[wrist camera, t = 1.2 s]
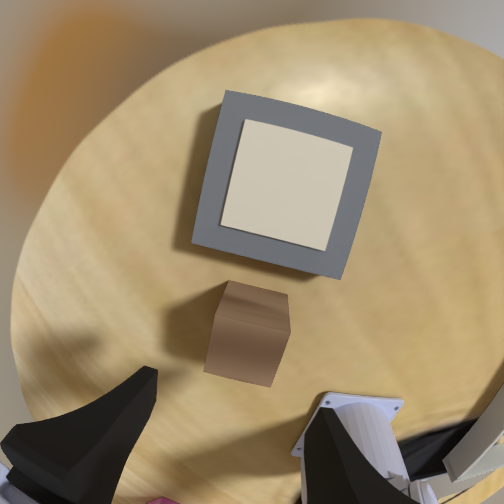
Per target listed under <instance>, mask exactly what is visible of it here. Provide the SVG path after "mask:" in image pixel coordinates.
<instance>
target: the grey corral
mask: <svg viewBox="0 0 504 504" xmlns="http://www.w3.org/2000/svg"><path fill="white" fill-rule="evenodd" d="M503 434H504V384H503V385H502V387H501V388H500V390H499V391H498V393H497V394H496V396H495V397H494V399H493V400H492V401H491V403H490V404H489V406H488V407H487V408H486V410H485V411H484V412H483V414H482V415H481V416H480V418H479V419H478V420H477V421H476V423H475V424H474V425H473V426H472V428H471V429H470V430H469V431H468V432H467V434H466V435H465V436H464V437H463V438H462V439H461V441H460V442H459V443H458V444H457V445H456V446H455V447H454V448H453V449H452V451H451V452H450V453H449V454H448V455H447V456H446V457H445V458H444V459H443V460H442V461H443V463H444V465H445V468H446V470H447V472H448V475H449V477H450V479H451V482H452V483H454V482H458V481H462V480H465V479H469V478H472V477H475V476H478V475H481V474H484V473H487V472H490V471H493V470H496V469H498V468H501V467H504V443H501V444H497V445H494V444H495V443H496V442H497V441H498V440H499V438H500V437H501V436H502V435H503ZM493 445H494V446H493Z"/></svg>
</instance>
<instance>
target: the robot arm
mask: <svg viewBox="0 0 504 504" xmlns="http://www.w3.org/2000/svg"><path fill="white" fill-rule="evenodd" d="M157 376H158V370H157V369H154V368H151V367H148V366H143V367H142V368H140V369H139V370H138V371H137V372H136V373H134V374H133V375H132V376H131V377H129V378H128V379H127V380H125V381H124V382H123V383H121V384H120V385H118V386H117V387H116V388H114V389H113V390H111V391H110V392H108V393H107V394H105V395H103V396H102V397H100V398H98V399H97V400H95V401H93V402H91V403H89V404H87V405H85V406H83V407H81V408H79V409H77V410H74V411H72V412H69V413H66V414H64V415H61V416H57V417H54V418H50V419H46V420H42V421H38V422H31V423H24V424H16V425H15V426H14V427H13V428H12V429H11V430H10V431H9V433H8V434H7V435H6V437H5V438H4V439H3V440H2V441H1V443H0V445H1V449H2V450H3V452H4V454H5V455H6V456H7V458H8V459H9V461H10V462H11V464H12V465H13V467H12V469H11V470H9V468H8V467H6V466H5V465H4V464H3V463H2V462H0V504H111V502H112V499H113V496H114V493H115V490H116V487H117V484H118V482H119V479H120V476H121V474H122V471H123V468H124V466H125V463H126V461H127V459H128V457H129V454H130V453H131V451H132V449H133V447H134V445H135V443H136V442H137V440H138V438H139V436H140V434H141V433H142V431H143V429H144V427H145V425H146V423H147V422H148V420H149V418H150V415H151V413H152V410H153V407H154V405H155V402H156V394H157ZM326 401H328V402H326ZM403 404H404V401H403V400H402V399H401V398H385V397H372V396H361V395H352V394H343V393H335V392H328V393H326V394H324V396H323V398H322V399H321V401H320V403H319V405H318V407H317V409H316V410H315V412H314V414H313V416H312V417H311V419H310V421H309V423H308V424H307V426H306V428H305V430H304V431H303V433H302V435H301V436H300V438H299V440H298V441H297V443H296V444H295V446H294V448H293V449H292V451H291V455H292V456H295V457H300V463H301V489H302V503H303V504H438V501H437V499H436V497H435V495H434V492H433V491H432V489H431V487H430V485H429V484H428V483H427V482H423V481H422V482H421V481H420V480H416V481H414V482H412V483H411V482H410V480H409V477H408V474H407V471H406V468H405V465H404V462H403V459H402V456H401V453H400V450H399V447H398V444H397V442H396V439H395V436H394V433H393V430H392V428H391V425H390V422H391V421H392V419H393V418H394V417H395V415H396V414H397V413H398V411H399V410H400V408H401V407H402V405H403Z"/></svg>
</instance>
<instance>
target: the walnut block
mask: <svg viewBox="0 0 504 504" xmlns="http://www.w3.org/2000/svg"><path fill="white" fill-rule="evenodd" d="M290 333H291V331H290V318H289V307H288V295H287V294H284V293H279V292H275V291H271V290H267V289H263V288H259V287H255V286H251V285H247V284H243V283H239V282H235V281H231V280H229V282H228V284H227V286H226V289H225V291H224V294H223V296H222V299H221V301H220V304H219V306H218V308H217V311H216V313H215V317H214V322H213V327H212V331H211V336H210V341H209V346H208V351H207V356H206V361H205V366H204V371H203V372H206V373H210V374H214V375H218V376H222V377H226V378H230V379H234V380H238V381H242V382H247V383H251V384H256V385H261V386H266V387H271V385H272V382H273V379H274V377H275V374H276V372H277V369H278V366H279V364H280V361H281V358H282V355H283V353H284V350H285V347H286V344H287V342H288V339H289V336H290Z"/></svg>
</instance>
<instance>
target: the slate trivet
mask: <svg viewBox="0 0 504 504" xmlns="http://www.w3.org/2000/svg"><path fill="white" fill-rule="evenodd" d="M381 134H382V132H381V131H378V130H375V129H373V128H370V127H367V126H364V125H362V124H359V123H356V122H353V121H350V120H347V119H344V118H341V117H338V116H334V115H331V114H328V113H324V112H321V111H317V110H314V109H310V108H307V107H303V106H299V105H295V104H291V103H287V102H283V101H279V100H274V99H270V98H265V97H261V96H256V95H251V94H245V93H240V92H234V91H228V90H226V91H225V95H224V98H223V102H222V106H221V110H220V114H219V117H218V121H217V125H216V129H215V134H214V138H213V142H212V146H211V150H210V155H209V159H208V163H207V168H206V172H205V177H204V181H203V186H202V191H201V195H200V200H199V205H198V210H197V215H196V220H195V225H194V231H193V236H192V241H191V243H193V244H197V245H201V246H205V247H209V248H213V249H217V250H221V251H225V252H229V253H233V254H237V255H241V256H245V257H249V258H253V259H257V260H261V261H265V262H269V263H273V264H277V265H281V266H285V267H289V268H293V269H297V270H301V271H305V272H309V273H313V274H317V275H322V276H326V277H330V278H334V279H338V280H341V277H342V274H343V271H344V268H345V265H346V262H347V259H348V256H349V253H350V250H351V247H352V244H353V240H354V237H355V234H356V231H357V227H358V224H359V221H360V217H361V214H362V210H363V207H364V203H365V200H366V196H367V192H368V188H369V185H370V181H371V177H372V173H373V169H374V165H375V161H376V156H377V152H378V148H379V143H380V139H381Z"/></svg>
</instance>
